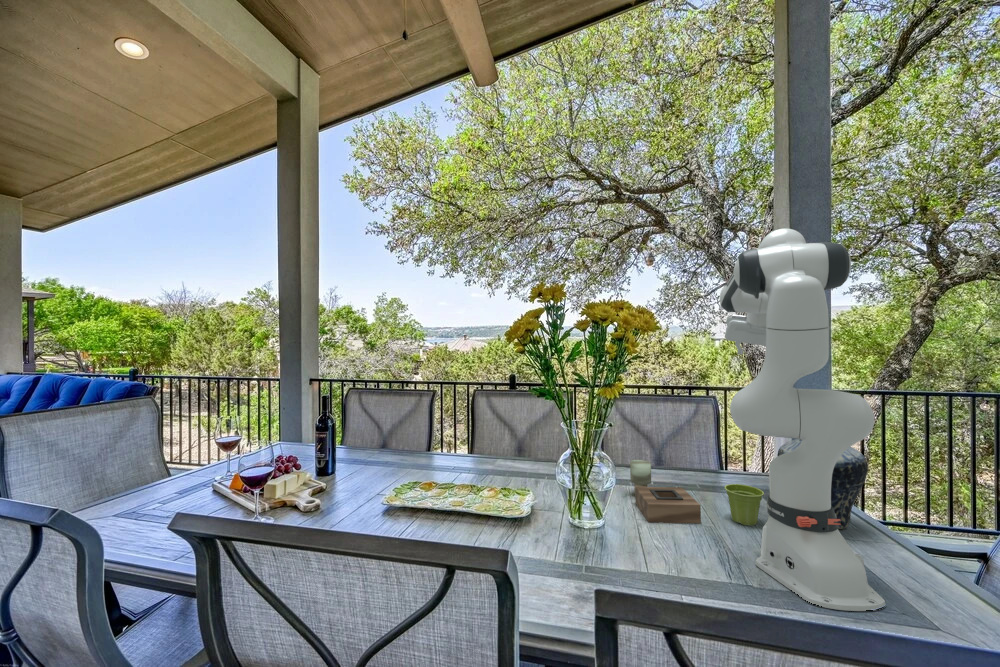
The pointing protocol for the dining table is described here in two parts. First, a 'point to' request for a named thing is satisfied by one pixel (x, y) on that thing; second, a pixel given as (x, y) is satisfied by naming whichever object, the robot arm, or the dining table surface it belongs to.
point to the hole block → (667, 505)
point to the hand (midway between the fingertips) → (755, 356)
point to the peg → (640, 473)
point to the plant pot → (744, 503)
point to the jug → (841, 480)
